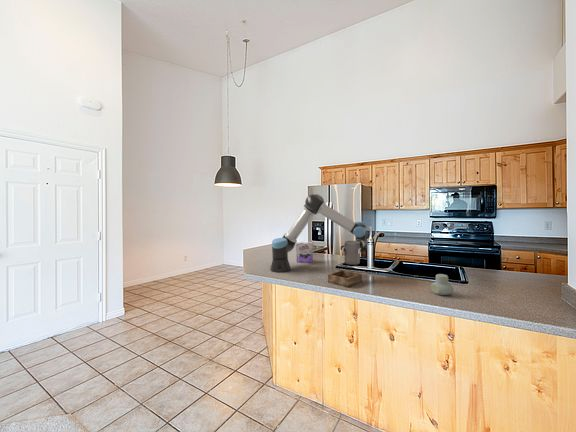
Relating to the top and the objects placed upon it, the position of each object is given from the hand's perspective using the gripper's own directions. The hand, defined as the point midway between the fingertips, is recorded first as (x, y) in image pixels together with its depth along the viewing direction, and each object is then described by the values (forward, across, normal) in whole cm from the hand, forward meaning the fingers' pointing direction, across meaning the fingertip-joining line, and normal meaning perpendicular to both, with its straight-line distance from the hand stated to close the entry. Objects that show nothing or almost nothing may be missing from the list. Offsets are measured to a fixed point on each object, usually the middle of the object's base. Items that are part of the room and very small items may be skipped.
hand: (350, 251), depth 171 cm
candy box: (-42, +49, -20) cm, 68 cm away
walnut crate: (+3, +3, -20) cm, 20 cm away
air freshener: (+4, -50, -20) cm, 54 cm away
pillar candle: (-4, 0, -9) cm, 10 cm away
